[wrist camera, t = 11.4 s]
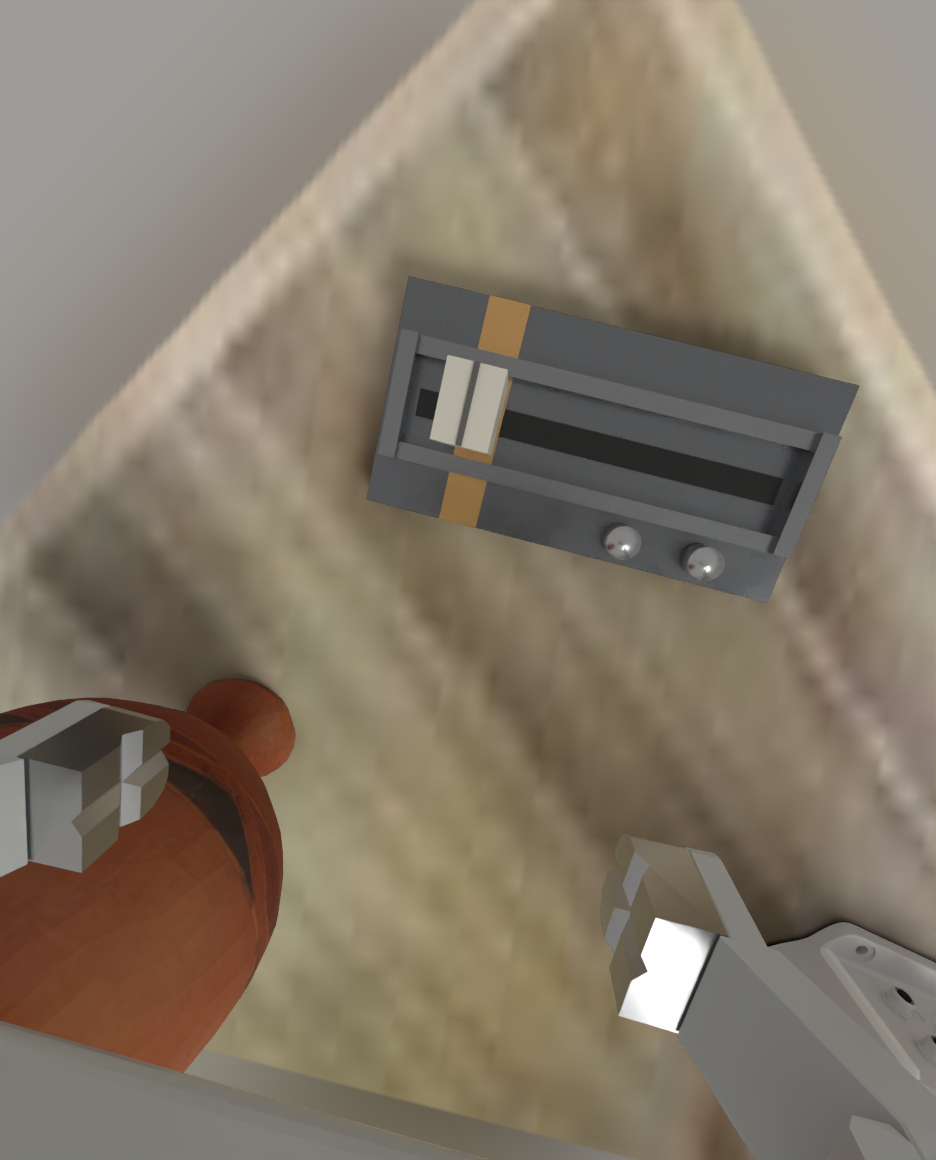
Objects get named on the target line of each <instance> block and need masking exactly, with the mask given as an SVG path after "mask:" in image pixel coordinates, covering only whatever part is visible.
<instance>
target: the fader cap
mask: <svg viewBox="0 0 936 1160" xmlns="http://www.w3.org/2000/svg"><path fill="white" fill-rule="evenodd" d="M507 391H508V369H504V368H500V367H495V366H491V365H487V364H483V363H481V362H477V361H471V360H467V359H463V358H459V357H455V356H451V355H447V360H446V365H445V369H444V374H443V379H442V383H441V388H440V393H439V397H438V402H437V406H436V411H435V416H434V420H433V425H432V430H431V434H430V439H432V440H435V441H437V442H440V443H443V444H447V445H450V446H454V447H458V448H462V449H466V450H470V451H474V452H478V453H482V454H486V455H490V456H491V455H492V451H493V447H494V443H495V439H496V435H497V431H498V427H499V423H500V419H501V415H502V411H503V407H504V403H505V399H506V395H507Z"/></svg>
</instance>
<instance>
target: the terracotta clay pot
mask: <svg viewBox="0 0 936 1160" xmlns="http://www.w3.org/2000/svg"><path fill="white" fill-rule="evenodd" d="M78 700H90V701H94V702H98V703H102V704H106V705H109V706H114V707H118V708H122V709H125V710H129V711H133V712H137V713H140V714H144V715H148V716H151V717H155V718H159V719H162V720H164V721H166V722H167V723H168V724H169V725H170V742H169V743H168V744H167V745H166V746H165V747H164V748H163V749H162V750H161V751H162V753H163V754H164V756H165V758H166V760H167V761H168V763H169V770H168V778H167V781H166V784H165V787H164V790H163V792H162V793H161V795H160V796H159V798H158V800H157V801H156V803H155V804H154V806H153V807H152V808H151V809H150V810H149V811H148V812H147V813H146V814H145V815H144V816H143V817H142V818H141V819H139V820H137V821H134V822H132V823H129V824H127V825H124V826H122V827H120V831H119V837H118V840H117V841H116V842H115V843H114V844H113V845H112V846H111V847H109V848H108V849H107V850H106V851H105V852H104V853H103V854H102V855H101V856H100V857H99V858H97V859H96V860H95V861H94V862H93V863H92V864H91V865H90V866H89V867H88V868H87V869H86V870H84V871H83V872H82V873H80V872H75V871H71V870H67V869H62V868H58V867H54V866H49V865H45V864H40V863H36V862H32V861H28V864H27V865H25V866H22V867H20V868H18V869H16V870H14V871H12V872H10V873H8V874H6V875H4V876H1V877H0V1021H3V1022H7V1023H10V1024H14V1025H17V1026H21V1027H24V1028H28V1029H31V1030H35V1031H38V1032H42V1033H45V1034H49V1035H52V1036H56V1037H59V1038H63V1039H66V1040H70V1041H73V1042H77V1043H80V1044H84V1045H87V1046H91V1047H94V1048H98V1049H101V1050H105V1051H108V1052H112V1053H115V1054H119V1055H122V1056H126V1057H129V1058H133V1059H137V1060H140V1061H144V1062H147V1063H151V1064H154V1065H158V1066H161V1067H165V1068H168V1069H172V1070H175V1071H179V1072H182V1073H184V1072H185V1070H186V1069H187V1068H188V1066H189V1065H190V1064H191V1063H192V1062H193V1061H194V1059H195V1058H196V1057H197V1056H198V1054H199V1053H200V1052H201V1051H202V1049H203V1048H204V1047H205V1046H206V1045H207V1043H208V1042H209V1041H210V1040H211V1038H212V1037H213V1036H214V1035H215V1033H216V1032H217V1030H218V1029H219V1028H220V1026H221V1025H222V1023H223V1022H224V1020H225V1019H226V1018H227V1016H228V1015H229V1013H230V1012H231V1010H232V1009H233V1008H234V1006H235V1005H236V1003H237V1002H238V1000H239V999H240V998H241V996H242V994H243V993H244V991H245V989H246V988H247V986H248V984H249V983H250V981H251V979H252V977H253V975H254V973H255V971H256V969H257V966H258V964H259V962H260V960H261V958H262V956H263V954H264V952H265V950H266V948H267V945H268V943H269V940H270V938H271V936H272V933H273V931H274V928H275V926H276V921H277V917H278V911H279V904H280V896H281V889H282V880H283V849H282V841H281V832H280V829H279V825H278V821H277V818H276V815H275V812H274V809H273V806H272V804H271V801H270V798H269V795H268V793H267V790H266V787H265V785H264V783H263V781H262V779H261V778H260V777H262V776H266V775H268V774H269V773H271V772H273V771H274V770H276V769H278V768H279V767H280V766H281V765H282V764H283V763H284V762H285V761H287V759H288V757H289V755H290V753H291V751H292V749H293V746H294V741H295V731H294V727H293V724H292V721H291V717H290V714H289V711H288V709H287V707H286V706H285V704H284V703H283V701H282V700H281V699H280V698H279V697H278V696H276V695H275V694H274V693H273V692H271V691H269V690H268V689H266V688H264V687H262V686H261V685H259V684H257V683H256V682H252V681H246V680H240V679H229V680H223V681H218V682H211V683H210V684H208V685H207V686H205V687H204V688H202V689H201V690H199V691H198V692H197V693H196V694H195V696H194V697H193V698H192V699H191V701H190V703H189V706H188V708H187V712H183V711H179V710H175V709H170V708H166V707H162V706H158V705H152V704H146V703H141V702H135V701H127V700H119V699H111V698H78V699H66V700H56V701H51V702H46V703H41V704H35V705H30V706H26V707H22V708H18V709H14V710H11V711H7V712H4V713H0V740H1V739H3V738H5V737H7V736H9V735H11V734H13V733H15V732H17V731H19V730H21V729H22V728H24V727H26V726H28V725H30V724H32V723H34V722H36V721H38V720H40V719H42V718H44V717H46V716H48V715H50V714H51V713H53V712H55V711H57V710H59V709H61V708H63V707H65V706H67V705H69V704H71V703H73V702H75V701H78Z"/></svg>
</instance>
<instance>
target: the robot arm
mask: <svg viewBox="0 0 936 1160" xmlns="http://www.w3.org/2000/svg"><path fill="white" fill-rule="evenodd" d="M169 742H170V725H169V724H168V723H167V722H166V721H164V720H162V719H159V718H155V717H151V716H148V715H144V714H140V713H137V712H133V711H129V710H125V709H122V708H118V707H114V706H109V705H106V704H102V703H98V702H94V701H90V700H78V701H75V702H73V703H71V704H69V705H67V706H65V707H63V708H61V709H59V710H57V711H55V712H53V713H51V714H50V715H48V716H46V717H44V718H42V719H40V720H38V721H36V722H34V723H32V724H30V725H28V726H26V727H24V728H22V729H21V730H19V731H17V732H15V733H13V734H11V735H9V736H7V737H5V738H3V739H1V740H0V877H1V876H4V875H6V874H8V873H10V872H12V871H14V870H16V869H18V868H20V867H22V866H25V865H27V864H28V861H32V862H36V863H40V864H45V865H49V866H54V867H58V868H62V869H67V870H71V871H75V872H80V873H82V872H83V871H84V870H86V869H87V868H88V867H89V866H90V865H91V864H92V863H93V862H94V861H95V860H96V859H97V858H99V857H100V856H101V855H102V854H103V853H104V852H105V851H106V850H107V849H108V848H109V847H111V846H112V845H113V844H114V843H115V842H116V841H117V840H118V837H119V831H120V827H122V826H124V825H127V824H129V823H132V822H134V821H137V820H139V819H141V818H142V817H143V816H144V815H145V814H146V813H147V812H148V811H149V810H150V809H151V808H152V807H153V806H154V804H155V803H156V801H157V800H158V798H159V796H160V795H161V793H162V792H163V790H164V787H165V784H166V781H167V778H168V770H169V763H168V761H167V760H166V758H165V756H164V754H163V753H162V751H161V750H162V749H163V748H164V747H165V746H166V745H167V744H168V743H169ZM615 856H616V860H617V864H618V867H616V868H615V869H613V870H612V871H610V872H609V873H607V876H606V879H605V883H604V886H603V889H602V898H601V908H600V909H601V925H602V930H603V936H604V939H605V941H606V942H607V943H608V945H609V946H610V947H611V949H612V950H613V952H614V956H613V958H612V961H611V964H610V967H609V968H610V974H611V979H612V984H613V989H614V994H615V999H616V1005H617V1010H618V1015H619V1016H622V1017H626V1018H629V1019H632V1020H636V1021H639V1022H642V1023H646V1024H649V1025H652V1026H656V1027H659V1028H662V1029H666V1030H669V1031H672V1032H676V1033H678V1035H677V1038H678V1039H679V1041H680V1042H681V1044H682V1045H683V1047H684V1049H685V1050H686V1052H687V1053H688V1055H689V1056H690V1058H691V1059H692V1061H693V1063H694V1064H695V1066H696V1067H697V1069H698V1070H699V1072H700V1074H701V1075H702V1077H703V1078H704V1080H705V1081H706V1083H707V1085H708V1086H709V1088H710V1089H711V1091H712V1092H713V1094H714V1096H715V1097H716V1099H717V1100H718V1102H719V1103H720V1105H721V1106H722V1108H723V1110H724V1111H725V1113H726V1114H727V1116H728V1117H729V1119H730V1121H731V1122H732V1124H733V1125H734V1127H735V1128H736V1130H737V1132H738V1133H739V1135H740V1136H741V1138H742V1139H743V1141H744V1143H745V1144H746V1146H747V1147H748V1149H749V1150H750V1152H751V1153H752V1155H753V1157H754V1158H755V1160H936V963H935V962H933V961H931V960H928V959H926V958H924V957H922V956H920V955H918V954H916V953H913V952H911V951H909V950H907V949H905V948H903V947H901V946H898V945H896V944H894V943H892V942H890V941H888V940H886V939H883V938H881V937H879V936H877V935H875V934H873V933H871V932H868V931H866V930H864V929H862V928H860V927H858V926H856V925H853V924H851V923H846V922H841V923H836V924H833V925H831V926H828V927H826V928H824V929H822V930H820V931H819V932H817V933H815V934H813V935H812V936H810V937H808V938H805V939H801V940H797V941H792V942H786V943H781V944H777V945H773V946H770V947H767V945H766V943H765V941H764V940H763V938H762V936H761V934H760V932H759V930H758V928H757V926H756V925H755V923H754V921H753V919H752V917H751V915H750V913H749V911H748V910H747V908H746V906H745V904H744V902H743V900H742V898H741V896H740V894H739V893H738V891H737V889H736V887H735V885H734V883H733V881H732V879H731V878H730V876H729V874H728V872H727V870H726V868H725V866H724V864H723V863H722V861H721V859H720V858H719V857H718V856H717V855H715V854H714V853H711V852H706V851H701V850H697V849H692V848H688V847H679V846H675V845H670V844H666V843H662V842H658V841H654V840H650V839H645V838H641V837H637V836H633V835H629V834H625V833H624V834H623V835H622V836H621V838H620V839H619V841H618V844H617V846H616V849H615ZM0 1160H489V1159H485V1158H481V1157H478V1156H474V1155H470V1154H467V1153H464V1152H460V1151H457V1150H453V1149H450V1148H446V1147H443V1146H439V1145H436V1144H432V1143H429V1142H425V1141H422V1140H418V1139H414V1138H411V1137H407V1136H404V1135H400V1134H397V1133H393V1132H390V1131H386V1130H383V1129H379V1128H376V1127H372V1126H369V1125H365V1124H361V1123H358V1122H355V1121H351V1120H348V1119H344V1118H340V1117H337V1116H333V1115H330V1114H326V1113H323V1112H319V1111H316V1110H312V1109H308V1108H305V1107H302V1106H298V1105H295V1104H291V1103H288V1102H284V1101H281V1100H277V1099H274V1098H270V1097H267V1096H263V1095H260V1094H256V1093H253V1092H249V1091H246V1090H242V1089H238V1088H234V1087H231V1086H228V1085H224V1084H221V1083H217V1082H214V1081H210V1080H207V1079H203V1078H200V1077H196V1076H193V1075H189V1074H186V1073H182V1072H179V1071H175V1070H172V1069H168V1068H165V1067H161V1066H158V1065H154V1064H151V1063H147V1062H144V1061H140V1060H137V1059H133V1058H129V1057H126V1056H122V1055H119V1054H115V1053H112V1052H108V1051H105V1050H101V1049H98V1048H94V1047H91V1046H87V1045H84V1044H80V1043H77V1042H73V1041H70V1040H66V1039H63V1038H59V1037H56V1036H52V1035H49V1034H45V1033H42V1032H38V1031H35V1030H31V1029H28V1028H24V1027H21V1026H17V1025H14V1024H10V1023H7V1022H3V1021H0Z"/></svg>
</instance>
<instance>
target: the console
mask: <svg viewBox="0 0 936 1160" xmlns="http://www.w3.org/2000/svg"><path fill="white" fill-rule="evenodd" d="M447 355H451V356H455V357H459V358H463V359H467V360H471V361H477V362H481V363H483V364H487V365H491V366H495V367H500V368H504V369H508V391H507V395H506V399H505V403H504V407H503V411H502V415H501V419H500V423H499V427H498V431H497V435H496V439H495V443H494V447H493V451H492V455H491V456H490V455H486V454H482V453H478V452H474V451H470V450H466V449H462V448H458V447H454V446H450V445H447V444H443V443H440V442H437V441H435V440H432V439H430V434H431V430H432V425H433V420H434V416H435V411H436V406H437V402H438V397H439V393H440V388H441V383H442V379H443V374H444V369H445V365H446V360H447ZM858 388H859V385H855V384H851V383H847V382H842V381H838V380H834V379H830V378H826V377H822V376H818V375H814V374H810V373H805V372H801V371H797V370H793V369H789V368H785V367H781V366H777V365H773V364H768V363H764V362H760V361H756V360H752V359H748V358H744V357H740V356H735V355H731V354H727V353H723V352H719V351H715V350H711V349H707V348H703V347H698V346H694V345H690V344H686V343H682V342H678V341H674V340H670V339H666V338H661V337H657V336H653V335H649V334H645V333H641V332H637V331H633V330H629V329H624V328H620V327H616V326H612V325H608V324H604V323H600V322H596V321H592V320H587V319H583V318H579V317H575V316H571V315H567V314H563V313H559V312H555V311H550V310H546V309H542V308H538V307H534V306H531V305H529V304H525V303H521V302H516V301H512V300H508V299H504V298H500V297H496V296H492V295H490V296H489V295H485V294H480V293H476V292H472V291H468V290H464V289H460V288H456V287H452V286H448V285H443V284H439V283H435V282H431V281H427V280H423V279H419V278H415V277H411V276H409V277H408V282H407V287H406V293H405V298H404V303H403V309H402V314H401V319H400V325H399V330H398V335H397V341H396V346H395V351H394V356H393V362H392V367H391V372H390V378H389V383H388V388H387V394H386V399H385V404H384V410H383V415H382V420H381V425H380V431H379V436H378V441H377V447H376V452H375V457H374V463H373V468H372V473H371V479H370V484H369V489H368V494H367V500H370V501H374V502H378V503H382V504H386V505H390V506H394V507H397V508H401V509H405V510H409V511H413V512H417V513H421V514H425V515H429V516H432V517H436V518H439V519H443V520H447V521H451V522H455V523H459V524H462V525H466V526H470V527H474V528H479V529H483V530H487V531H491V532H495V533H498V534H502V535H506V536H510V537H514V538H518V539H522V540H526V541H529V542H533V543H537V544H541V545H545V546H549V547H553V548H557V549H561V550H564V551H568V552H572V553H576V554H580V555H584V556H588V557H592V558H595V559H599V560H603V561H607V562H611V563H615V564H619V565H623V566H627V567H630V568H634V569H638V570H642V571H646V572H650V573H654V574H658V575H661V576H665V577H669V578H673V579H677V580H681V581H685V582H689V583H693V584H696V585H700V586H704V587H708V588H712V589H716V590H720V591H724V592H727V593H731V594H735V595H739V596H743V597H747V598H751V599H755V600H759V601H762V602H766V603H767V602H768V600H769V597H770V595H771V593H772V590H773V588H774V586H775V583H776V581H777V579H778V576H779V574H780V571H781V569H782V567H783V564H784V562H785V560H786V558H790V557H791V555H792V553H793V550H794V548H795V546H796V543H797V541H798V539H799V536H800V534H801V532H802V529H803V527H804V525H805V522H806V520H807V518H808V515H809V513H810V511H811V508H812V506H813V504H814V501H815V499H816V497H817V494H818V492H819V490H820V487H821V485H822V483H823V480H824V478H825V476H826V473H827V471H828V469H829V466H830V464H831V462H832V459H833V457H834V454H835V452H836V450H837V447H838V445H839V443H840V440H841V438H842V437H841V436H838V435H839V433H840V431H841V428H842V426H843V423H844V421H845V419H846V416H847V414H848V412H849V409H850V407H851V405H852V402H853V400H854V398H855V395H856V393H857V391H858Z"/></svg>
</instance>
